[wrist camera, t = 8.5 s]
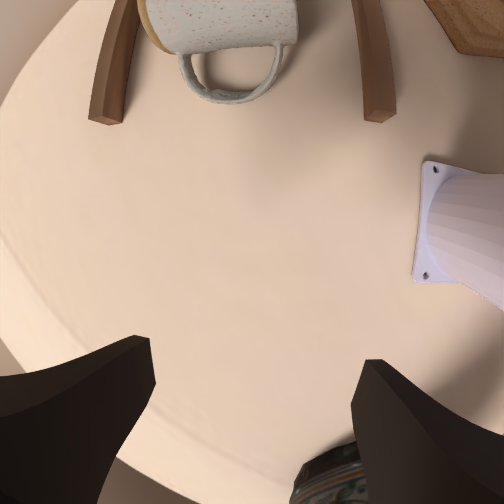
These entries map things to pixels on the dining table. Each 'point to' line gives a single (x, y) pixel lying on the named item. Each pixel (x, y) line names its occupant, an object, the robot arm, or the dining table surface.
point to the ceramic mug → (220, 34)
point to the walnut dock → (124, 33)
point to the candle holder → (472, 25)
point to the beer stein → (332, 479)
